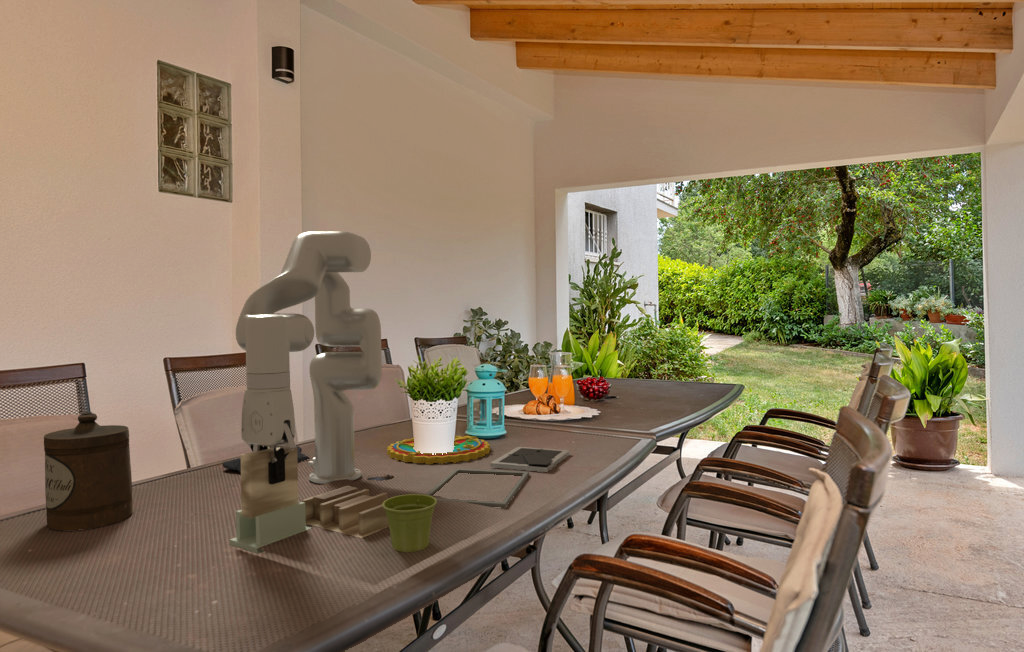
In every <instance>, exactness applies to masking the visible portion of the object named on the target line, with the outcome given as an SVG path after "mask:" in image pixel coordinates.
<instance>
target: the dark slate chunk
mask: <svg viewBox="0 0 1024 652" xmlns="http://www.w3.org/2000/svg"><path fill="white" fill-rule="evenodd" d="M277 444H278V443H277ZM295 445H296V444H295ZM296 447H297V462H300V463H302V462H301V461H303V462H305V461H304V460H306V461H308V460H307V459H311V458H310V457H309V455H308V456H307V455H306V454H305V453H302V451H303V450H302V448H301V447H300V446H299V445H296ZM222 467H223V468H224V469H226V470H230V471H236V470H237V471H236V472H239V473H241V457H239V458H234V459H231V460H227V461H224V462H223V463H222Z"/></svg>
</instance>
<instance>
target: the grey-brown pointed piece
mask: <svg viewBox="0 0 1024 652" xmlns="http://www.w3.org/2000/svg"><path fill="white" fill-rule="evenodd" d="M570 455H571V453H570V450H569V449H558V448H557V449H555V448H554V449H553V448H543V447H540V448H539V447H528V446H527V447H526V446H517V447H515V448H514V449H512V450H509V451H508V452H507V453H505V454H503V455H501V456H500V457H498V458H496V459H495V460H493V461H491V462H490V463H489V464H490V465H489V467H494V468H493V469H497V468H504V469H503V470H508V469H516V470H515V471H520V470H526V471H525V472H531V471H537V472H536V473H543V472H548V471H549V470H550V471H551V470H553V469H554V468H556V466H558V465H559V464H560V463H562V462H563V461H564V460H565V459H567V458H568V457H569V456H570ZM567 456H568V457H567ZM566 457H567V458H566ZM563 459H564V460H563ZM562 460H563V461H562ZM561 461H562V462H561ZM558 463H559V464H558ZM557 464H558V465H557ZM553 467H554V468H553ZM552 468H553V469H552ZM550 471H549V472H550ZM549 472H548V473H549Z"/></svg>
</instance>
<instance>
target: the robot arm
mask: <svg viewBox="0 0 1024 652" xmlns="http://www.w3.org/2000/svg"><path fill="white" fill-rule="evenodd" d="M371 260H372V250H371V246H370V243H368V241H367V240H366V238H364V236H363V237H362V236H361V235H358V234H355V233H353V232H350V231H349V232H348V231H345V230H344V231H342V230H341V231H339V230H337V231H336V230H332V231H328V230H327V231H326V230H325V231H321V230H320V231H316V230H315V231H306V232H302V233H300V234H298V235H297V236H296V237H295V238H294V240H293V241H292V243H291V246H290V248H289V251H288V254H287V257H286V259H285V262H284V264H283V267H282V270H281V273H280V274H279V275H278V276H276V277H274V278H272V279H271V280H268V282H266V283H264V284H263V285H262V286H260V287H259V288H257V289H256V290H254V292H252V293H251V294H250V295H249V296H248V297H247V299H246V300H245V302H244V304H243V307H242V309H241V311H240V313H239V316H238V319H237V322H236V326H235V327H236V328H235V339H236V342H237V344H238V346H239V347H240V349H242V350H244V351H245V369H246V370H245V373H246V375H245V377H246V378H245V379H246V380H245V381H246V389H245V390H244V393H243V394H244V395H243V398H242V399H243V400H242V408H241V423H240V424H241V425H240V426H241V429H240V430H241V439H242V441H243V442H244V443H246V444H247V446H248V447H249V448H250V449H251V452H256V451H261V450H266V449H270V459H271V462H269V463H268V470H269V484H276V483H279V482H283V481H285V460H286V459H287V455H288V454H289V452H291V451H292V450H294V449H295V448H296V442H295V437H296V419H295V408H294V407H295V406H294V403H293V402H294V401H293V395H292V391H291V376H290V375H291V371H290V370H291V368H290V353H297V352H303V351H305V350H306V349H307V348H309V346H311V345H312V343H313V340H314V338H315V337H316V341H317V342H318V343H319V344H320V345H322V346H325V347H359V348H360V349H361V351H329V352H327V351H326V352H321V353H319V354H317V355H314V356H313V358H312V359H311V361H310V363H309V368H308V369H309V378H310V382H311V387H312V388H311V389H312V393H313V395H312V397H313V407H314V408H313V413H314V416H313V417H314V455H315V456H313V458H312V459H311V460H308V462H307V466H308V467H312V469H313V470H312V472H311V473H309V475H308V479H309V481H310V482H312V483H314V484H319V485H326V484H330V483H333V482H336V481H343V480H349V481H355V480H357V479H359V478H361V477H362V471H361V469H359V468H356V467H355V466H356V465H355V464H356V463H355V416H354V415H355V413H354V409H355V408H354V406H353V403H352V401H351V400H350V398H349V397H348V395H347V394H346V393H345V392H344V391H369V390H374V389H377V388H378V387H379V386H380V384H381V381H382V371H383V370H382V368H383V367H382V365H383V364H382V363H383V362H382V327H381V321H380V317H379V314H378V313H377V312H376V311H375V310H374V309H372V308H367V307H361V308H354V307H353V308H352V307H351V298H350V297H351V293H350V292H351V291H350V286H349V284H348V283H347V281H346V280H345V279H344V277H343V276H342V275H341V274H340V273H362V272H365V271H366V270H367V269H368V268H369V266H370V264H371ZM313 298H314V323H315V325H313V322H312V321H311V320H310V319H309V317H308V316H306V315H304V314H301V313H277V312H279V311H282V310H284V309H288V308H290V307H294V306H298V305H300V304H302V303H304V302H307V301H310V300H312V299H313ZM314 327H315V328H314ZM277 443H278V444H277ZM278 447H280V449H279V450H278V451H277V452H276V448H278Z"/></svg>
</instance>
